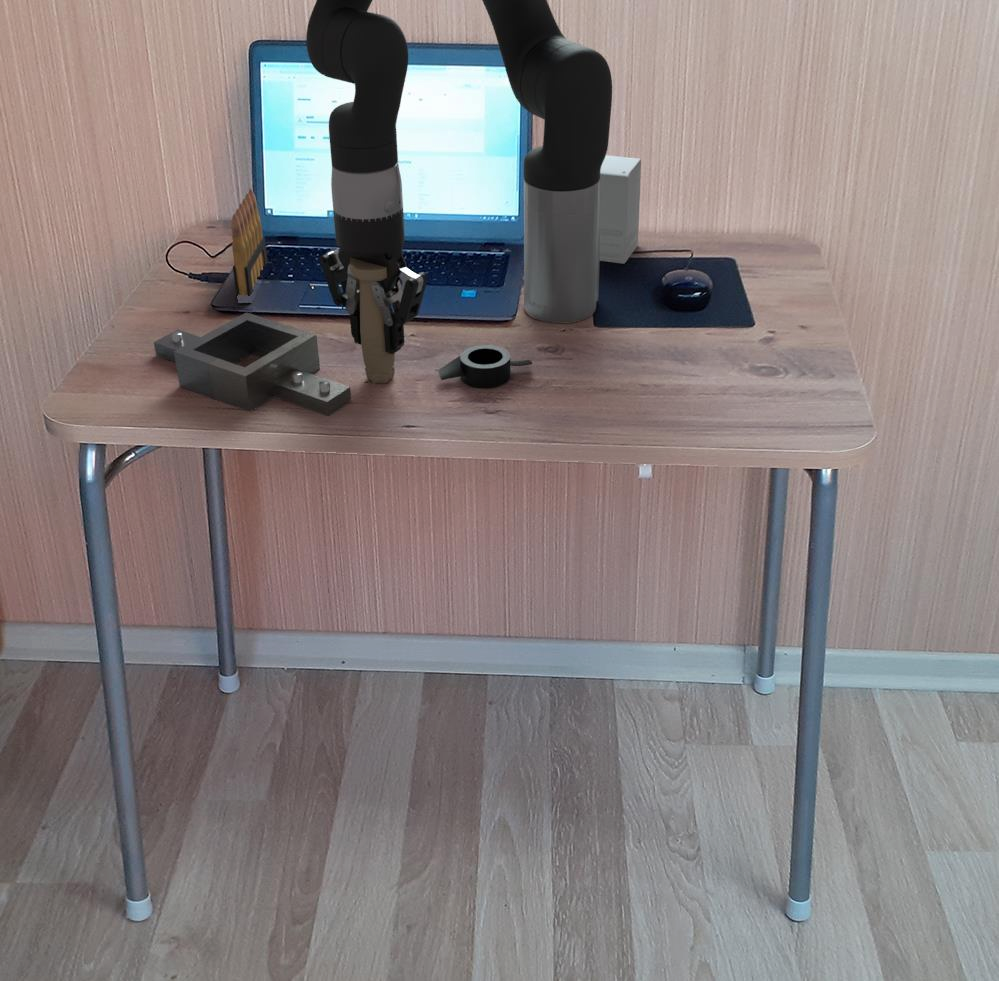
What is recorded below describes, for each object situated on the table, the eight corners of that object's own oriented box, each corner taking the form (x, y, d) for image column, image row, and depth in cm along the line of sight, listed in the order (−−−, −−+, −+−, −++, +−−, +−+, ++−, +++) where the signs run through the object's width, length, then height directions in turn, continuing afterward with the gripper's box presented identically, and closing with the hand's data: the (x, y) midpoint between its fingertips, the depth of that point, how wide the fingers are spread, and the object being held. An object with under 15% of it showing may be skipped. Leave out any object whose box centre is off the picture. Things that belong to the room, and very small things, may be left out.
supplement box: (639, 245, 184) (643, 157, 177) (624, 265, 178) (628, 176, 171) (589, 238, 186) (591, 151, 179) (573, 258, 180) (574, 169, 173)
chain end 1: (131, 368, 155) (124, 334, 152) (203, 330, 163) (198, 297, 160) (214, 398, 148) (209, 363, 146) (284, 357, 157) (280, 323, 154)
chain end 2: (214, 398, 148) (209, 363, 146) (284, 357, 157) (280, 323, 154) (304, 431, 142) (300, 395, 139) (373, 386, 150) (370, 351, 148)
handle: (402, 364, 155) (395, 246, 146) (400, 391, 149) (393, 269, 141) (361, 365, 154) (351, 247, 146) (358, 392, 149) (348, 270, 141)
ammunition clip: (251, 304, 169) (239, 216, 162) (237, 304, 169) (225, 216, 162) (269, 270, 178) (259, 186, 171) (255, 270, 178) (245, 185, 171)
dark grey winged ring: (516, 400, 148) (516, 377, 146) (433, 387, 150) (432, 365, 149) (536, 369, 154) (536, 347, 152) (457, 358, 156) (456, 336, 155)
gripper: (442, 205, 139) (447, 348, 149) (338, 180, 146) (350, 319, 155) (399, 228, 134) (407, 375, 144) (294, 201, 141) (309, 343, 150)
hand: (378, 345), depth 149 cm, fingers closed on handle, 4 cm apart
